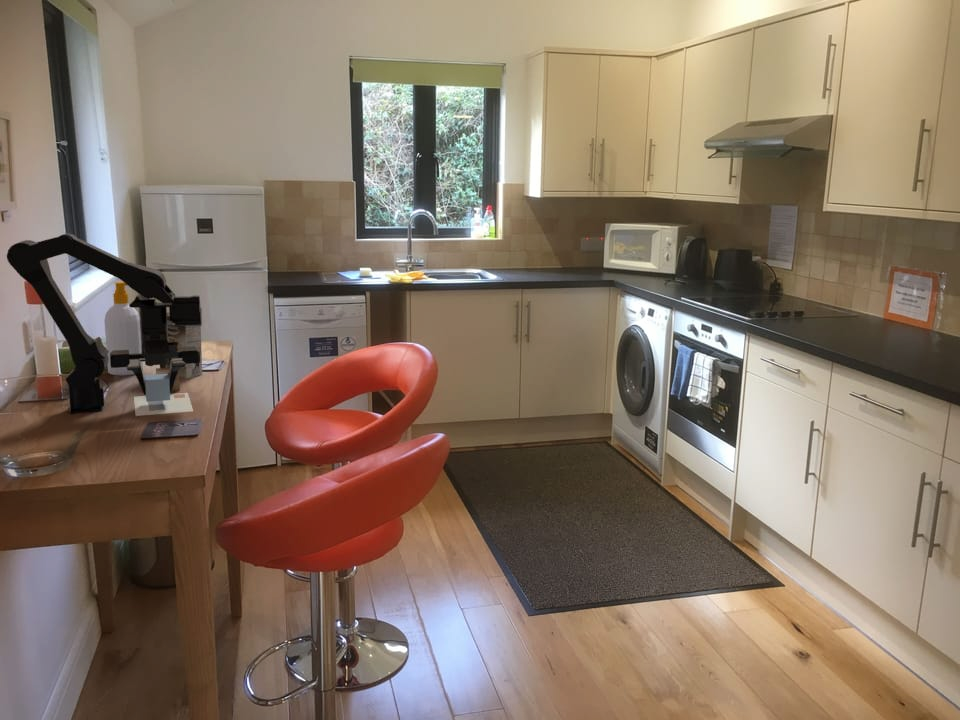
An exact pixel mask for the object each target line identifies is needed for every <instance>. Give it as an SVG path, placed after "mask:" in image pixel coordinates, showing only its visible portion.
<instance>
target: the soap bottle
mask: <svg viewBox="0 0 960 720" xmlns="http://www.w3.org/2000/svg"><path fill="white" fill-rule="evenodd" d="M114 284H115V290H114V293H113V305H111V306H110V307H109V308H108V310H107V311H106V312H105V316H104V331H105V332H104V333H105V335H104V336H105V345H106V346H105V348H106V349H107V350H108V351H109V353H108V354H107V355H108V357H109V362H108V365H107V373H108V374H110V375H113V376H121V377H122V376H133V375H135V374H134V373H133V371H132V370H127V367H120V368H111V364H110V353H111V352H112V351H114V350H129V354H137V353H142V351H141V333H140V315H139V311H137V309H135V308H131V307H129V305H130V304H129V294H128V293H127V290H126V289H125V286H128V285H127V284H126V283H124V282H123V281H115V282H114ZM143 363H144V361H143V362H140V364H141V368H142V372H143V370H144V365H143Z"/></svg>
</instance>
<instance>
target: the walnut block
mask: <svg viewBox="0 0 960 720" xmlns="http://www.w3.org/2000/svg"><path fill="white" fill-rule="evenodd" d="M169 372H170V368H160V367H158V368H155V374H168V376H169ZM180 385H181V384H180V378H179V371H178V373H177V376H176V378H175V382H174V385H173V388H172V392H178V391H179V392H180V391H181V388H180Z"/></svg>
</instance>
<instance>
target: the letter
mask: <svg viewBox="0 0 960 720" xmlns="http://www.w3.org/2000/svg"><path fill="white" fill-rule="evenodd" d="M133 399H134V400H133V401H134V411H135V417H138V416H139V417H140V416H148V415H149V416H151V415H163V414H164V415H165V414H177V413H188V412H190V413H191V412H194V409H193V406H192V402H191V399H190V395H189V392H181V393H180V392H179V393H170V400H164V401H151V402H146V395H139V396H133Z"/></svg>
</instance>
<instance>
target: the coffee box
mask: <svg viewBox="0 0 960 720" xmlns="http://www.w3.org/2000/svg"><path fill="white" fill-rule="evenodd" d="M167 326H168V342H177V351H180V347H194V346H195V347H197V348H198V350H199V352H200V363H190V364H186V363H185V367H181V368H180V370H179V379H190V378H195V377H199V376H202V375H203V357H202V351H203V350H202V326H175V323H173V322H170V315H169V312H167ZM159 368H170V360H169V364H167V365H159ZM201 374H202V375H201ZM198 375H199V376H198Z"/></svg>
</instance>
